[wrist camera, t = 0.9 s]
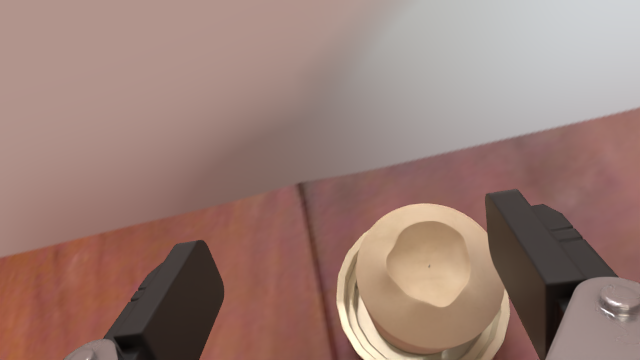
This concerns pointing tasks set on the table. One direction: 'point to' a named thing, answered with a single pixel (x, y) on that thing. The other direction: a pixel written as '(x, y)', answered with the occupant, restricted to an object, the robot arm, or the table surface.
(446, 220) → the candle
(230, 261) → the table surface
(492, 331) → the bowl
